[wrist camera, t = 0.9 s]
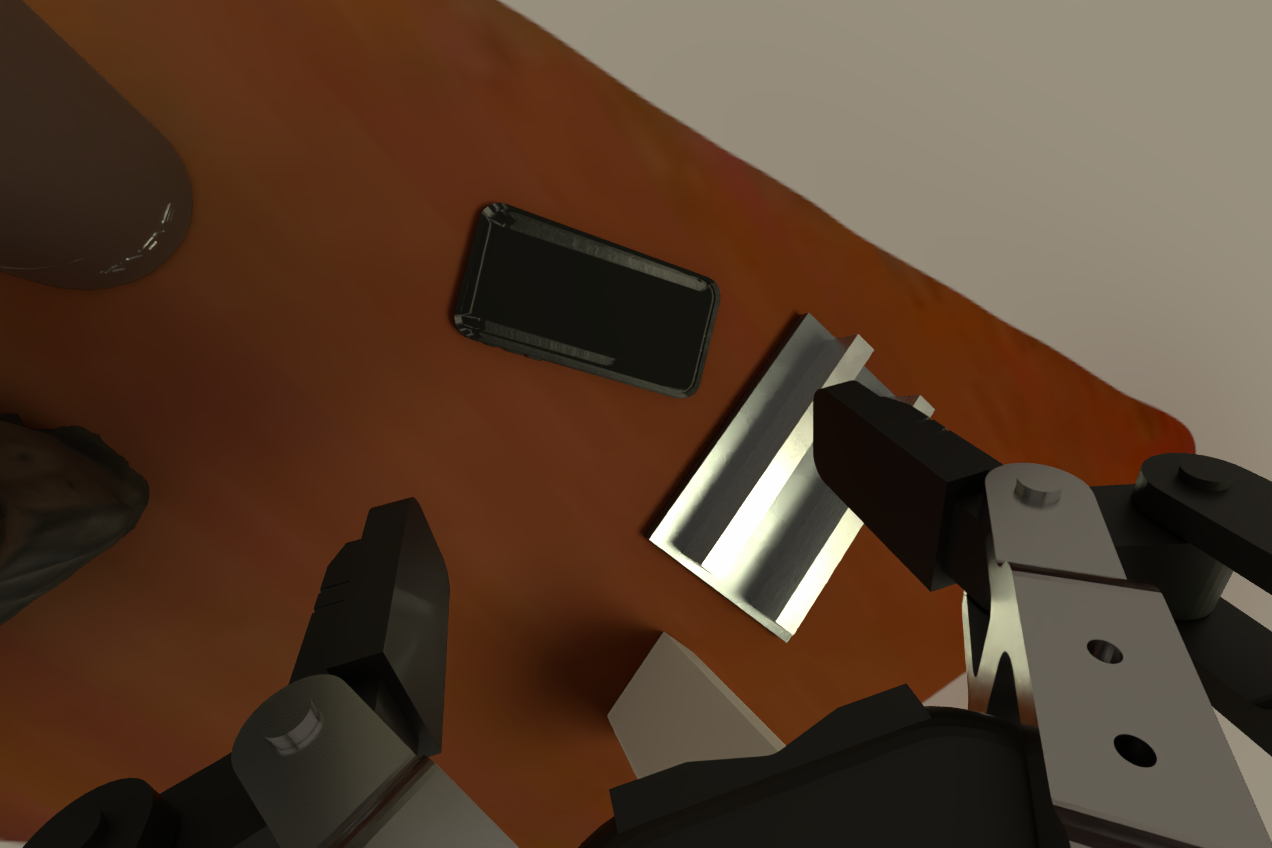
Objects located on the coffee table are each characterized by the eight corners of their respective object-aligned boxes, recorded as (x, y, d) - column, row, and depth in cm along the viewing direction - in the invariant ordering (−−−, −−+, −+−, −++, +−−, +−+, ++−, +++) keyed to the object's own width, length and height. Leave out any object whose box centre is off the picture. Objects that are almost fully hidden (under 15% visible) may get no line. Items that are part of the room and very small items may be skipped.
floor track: (644, 536, 35) (666, 550, 31) (800, 315, 38) (837, 303, 34) (778, 637, 38) (814, 661, 34) (913, 424, 41) (960, 424, 37)
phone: (485, 196, 31) (724, 283, 36) (485, 203, 32) (716, 286, 37) (448, 333, 31) (695, 404, 35) (449, 335, 32) (688, 404, 36)
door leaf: (606, 715, 34) (723, 954, 19) (663, 631, 35) (818, 793, 20) (640, 737, 35) (779, 984, 20) (695, 653, 36) (867, 826, 21)
